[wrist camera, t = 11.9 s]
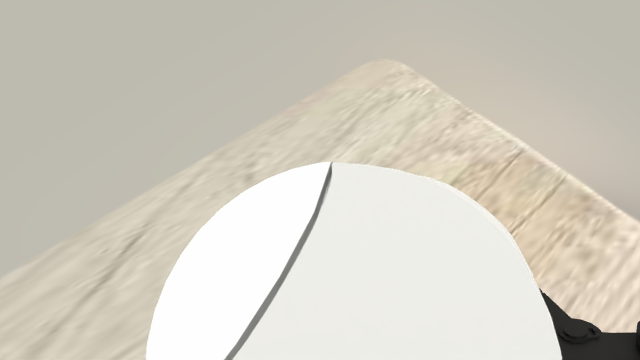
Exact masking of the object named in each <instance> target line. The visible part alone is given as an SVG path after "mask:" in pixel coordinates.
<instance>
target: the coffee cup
mask: <svg viewBox="0 0 640 360" xmlns="http://www.w3.org/2000/svg"><path fill="white" fill-rule="evenodd" d="M145 360H562V355H561V350H560V346H559V343H558V339H557V336H556V332H555V329H554V325H553V321H552V318H551V315H550V313H549V311H548V308H547V306H546V304H545V302H544V299H543V297H542V295H541V293H540V290H539V288H538V286H537V284H536V282H535V280H534V276H533V274H532V272H531V270H530V268H529V266H528V264H527V262H526V261H525V259H524V257H523V255H522V253H521V251H520V249H519V247H518V245H517V244H516V242H515V241H514V239H513V237H512V236H511V234H510V233H509V232H508V231H507V229H506V228H505V227H504V226H503V225H502V223H500V222H499V221H498V220H497V219H496V218H495V217H494V216H493V215H492V214H491V213H490V212H488V211H487V210H486V209H485V208H483V207H482V206H481V205H480V204H478V203H477V202H476V201H474V200H473V199H472V198H470V197H469V196H467V195H466V194H464V193H462V192H461V191H459V190H458V189H456V188H454V187H452V186H450V185H448V184H446V183H443V182H440V181H437V180H434V179H432V178H430V177H424V176H420V175H416V174H412V173H408V172H405V171H402V170H399V169H392V168H386V167H379V166H372V165H365V164H353V163H340V162H321V163H315V164H311V165H307V166H302V167H298V168H294V169H291V170H288V171H285V172H283V173H280V174H278V175H275V176H272V177H270V178H267V179H265V180H263V181H262V182H260V183H258V184H256V185H254V186H253V187H251V188H249V189H247V190H245V191H244V192H242V193H241V194H239V195H238V196H237V197H235V198H234V199H233V200H231V201H230V202H229V203H227V204H226V205H225V206H223V207H222V208H221V209H219V210H218V211H217V212H216V213H215V214H214V215H213V216H212V217H211V218H210V219H209V220H208V221H207V222H206V223H205V224H204V225H203V226H202V227H201V228H200V229H199V231H198V232H197V233H196V235H195V236H194V237H193V239H192V240H191V241H190V243H189V244H188V245H187V246H186V248H185V249H184V250H183V252H182V253H181V255H180V256H179V258H178V260H177V262H176V264H175V265H174V267H173V269H172V271H171V273H170V274H169V276H168V278H167V280H166V282H165V284H164V287H163V290H162V292H161V295H160V297H159V300H158V302H157V305H156V308H155V310H154V314H153V318H152V322H151V327H150V331H149V335H148V340H147V344H146V355H145Z"/></svg>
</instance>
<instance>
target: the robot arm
mask: <svg viewBox="0 0 640 360" xmlns="http://www.w3.org/2000/svg"><path fill="white" fill-rule="evenodd" d="M539 290H540V293H541V295H542V297H543V299H544V302H545V304H546V306H547V308H548V311H549V313H550V315H551V318H552V321H553V325H554V329H555V332H556V336H557V339H558V343H559V346H560V350H561V355H562V360H640V321H639V322H638V323H637V333H605V332H601V330H600V329H599V328H597V327H596V326H594V325H593V324H592V323H589V322H586V321H584V320H580V319H573V318H570V317H569V316H568V315H567V314H566V313H565V312H564V311H563V310H562V309H561V308H560V307H559V306H558V305H557V304H555V303H554V302H553V301H552V300H551V299H550V298H549V297H548V296H547V295H546V294H545V293H543V292H542V290H541V289H540V288H539Z"/></svg>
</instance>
